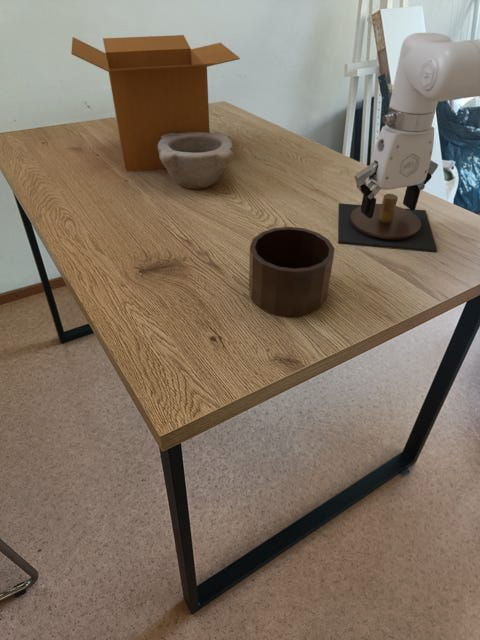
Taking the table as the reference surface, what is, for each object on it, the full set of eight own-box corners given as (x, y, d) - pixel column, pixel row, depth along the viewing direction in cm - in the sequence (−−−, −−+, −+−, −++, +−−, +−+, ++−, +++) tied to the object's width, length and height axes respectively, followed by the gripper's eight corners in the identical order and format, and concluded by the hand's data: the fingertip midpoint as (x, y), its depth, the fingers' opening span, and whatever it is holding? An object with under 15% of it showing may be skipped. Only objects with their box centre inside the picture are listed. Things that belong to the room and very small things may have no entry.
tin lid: (400, 206, 96) (407, 179, 92) (432, 238, 86) (441, 210, 82) (340, 211, 94) (344, 184, 90) (365, 245, 84) (371, 216, 80)
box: (214, 123, 139) (211, 24, 122) (250, 174, 110) (252, 54, 93) (93, 133, 131) (72, 29, 115) (97, 190, 103) (70, 63, 86)
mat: (424, 212, 95) (425, 210, 95) (436, 252, 83) (437, 250, 83) (338, 205, 98) (339, 203, 97) (338, 243, 86) (338, 241, 85)
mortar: (231, 166, 114) (231, 128, 108) (234, 195, 101) (234, 154, 95) (164, 167, 113) (160, 129, 107) (158, 197, 100) (153, 156, 94)
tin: (313, 267, 79) (319, 224, 74) (337, 312, 70) (346, 266, 65) (243, 274, 78) (243, 230, 72) (258, 321, 68) (260, 275, 63)
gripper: (378, 131, 72) (359, 227, 83) (465, 120, 77) (436, 212, 88) (353, 118, 77) (339, 209, 89) (436, 108, 82) (412, 196, 93)
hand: (387, 211), depth 88 cm, fingers open, 9 cm apart
